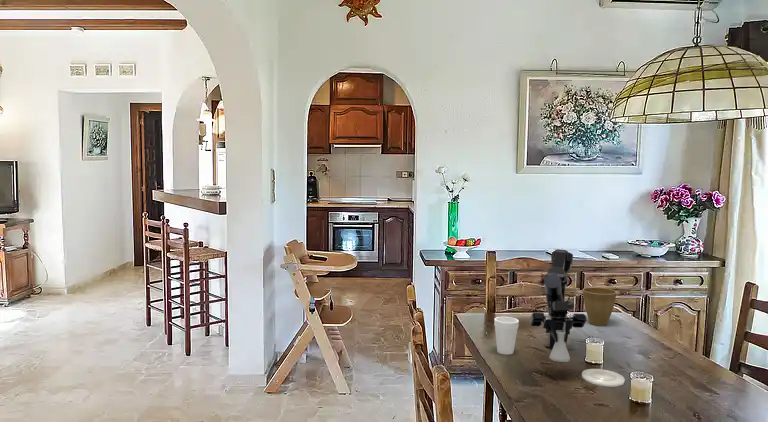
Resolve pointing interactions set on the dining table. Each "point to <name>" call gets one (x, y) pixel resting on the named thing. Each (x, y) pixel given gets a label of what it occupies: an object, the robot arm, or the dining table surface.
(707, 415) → the dining table surface
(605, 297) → the plant pot
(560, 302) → the robot arm
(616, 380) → the ceramic plate
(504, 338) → the foam cup
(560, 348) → the flask
